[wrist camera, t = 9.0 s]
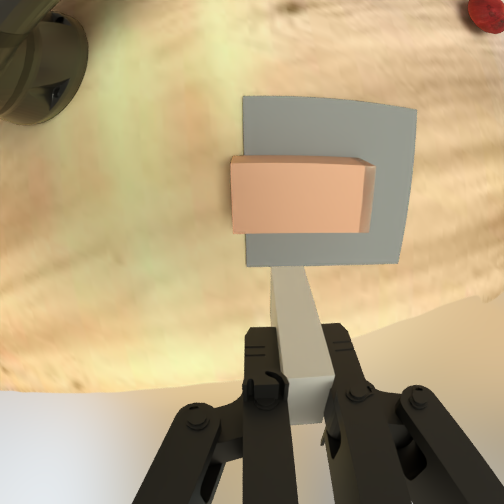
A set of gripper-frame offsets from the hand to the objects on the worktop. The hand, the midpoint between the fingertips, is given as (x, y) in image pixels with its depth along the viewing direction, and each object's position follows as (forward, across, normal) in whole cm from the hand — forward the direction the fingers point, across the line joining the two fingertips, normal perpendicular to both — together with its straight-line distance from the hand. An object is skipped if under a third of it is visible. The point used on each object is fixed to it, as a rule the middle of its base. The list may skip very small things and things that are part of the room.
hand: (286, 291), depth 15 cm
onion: (+22, +28, +26) cm, 44 cm away
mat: (+22, +8, 0) cm, 23 cm away
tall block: (+19, -3, 0) cm, 19 cm away
